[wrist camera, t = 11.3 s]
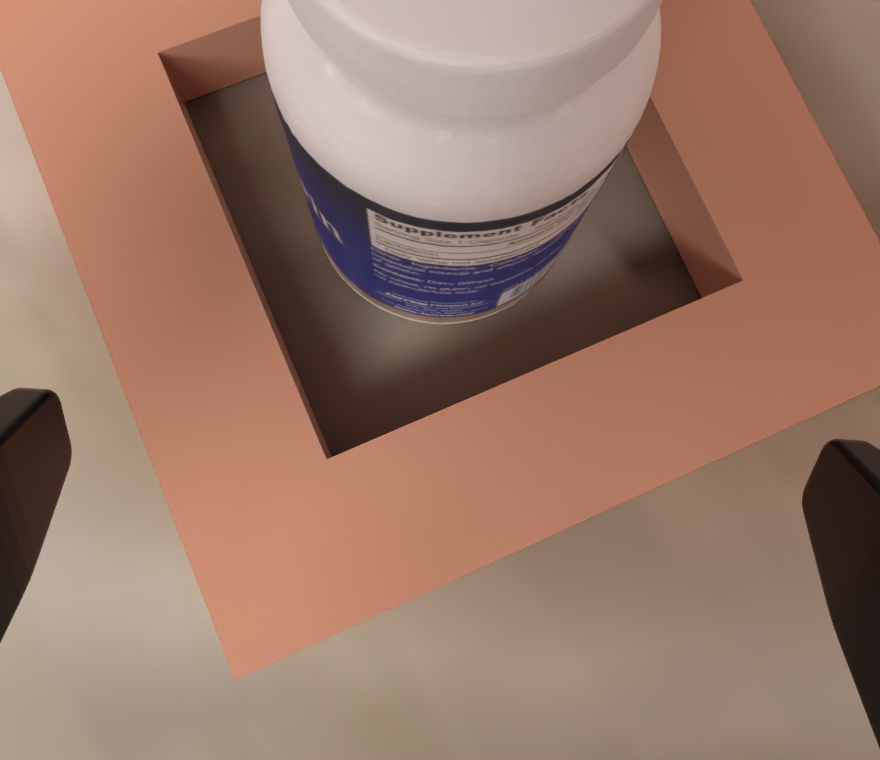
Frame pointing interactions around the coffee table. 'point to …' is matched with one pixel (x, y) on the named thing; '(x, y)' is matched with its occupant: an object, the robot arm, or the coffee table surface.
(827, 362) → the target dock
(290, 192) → the coffee table surface
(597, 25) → the pill bottle
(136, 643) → the coffee table surface
